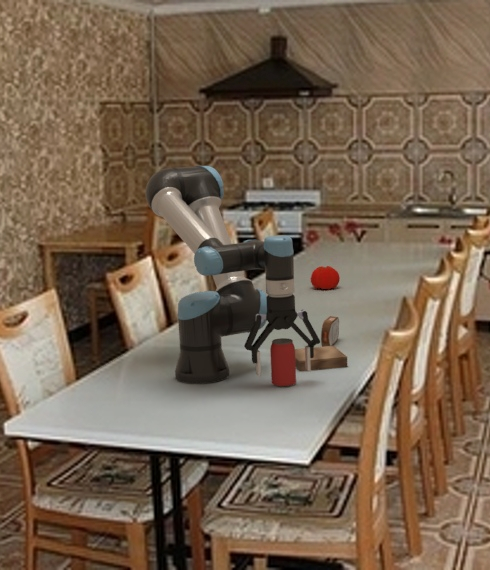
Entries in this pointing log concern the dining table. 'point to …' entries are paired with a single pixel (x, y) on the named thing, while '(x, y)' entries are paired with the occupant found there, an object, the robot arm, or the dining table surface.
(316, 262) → the dining table surface
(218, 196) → the robot arm
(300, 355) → the podium
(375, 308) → the dining table surface
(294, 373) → the beer can
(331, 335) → the tin
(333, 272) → the tomato
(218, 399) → the dining table surface
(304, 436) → the dining table surface
